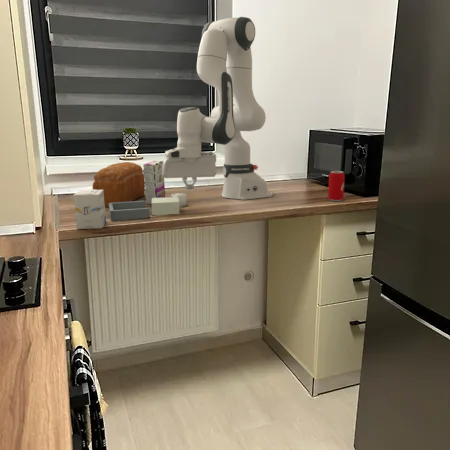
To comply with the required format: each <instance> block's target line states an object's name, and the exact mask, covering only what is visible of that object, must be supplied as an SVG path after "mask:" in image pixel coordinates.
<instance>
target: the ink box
mask: <svg viewBox="0 0 450 450" xmlns="http://www.w3.org/2000/svg"><path fill="white" fill-rule="evenodd" d="M72 196H73V203H74V211H75V212H74V213H75V223H76V229H77V230H85V229H103V228H104V227H105V224H106V222H107V217H106V207H105V204H104V193H103V190H93V189H81V190H78V191H76V192H75V193H74V194H73V195H72Z"/></svg>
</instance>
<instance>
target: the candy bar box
mask: <svg viewBox="0 0 450 450" xmlns="http://www.w3.org/2000/svg"><path fill="white" fill-rule="evenodd" d="M163 161H164V160H152V161H149V162H146V163H144V164H143V175H144V181H145V202H146V205H152V198H166V188H165V187H166V186H165V177H163V175H162V166H163Z"/></svg>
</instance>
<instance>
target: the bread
mask: <svg viewBox="0 0 450 450" xmlns="http://www.w3.org/2000/svg"><path fill="white" fill-rule="evenodd" d="M93 180H94V181H93V183H92V190H103V193H104V204H105V208H109V203H116V202H131V201H136V200H137V199H140V198H141V197H143V196H144V195H146V193H145V180H144V172H143V168H142V166H141V165H139V164H137V163H135V162H131V161H124V162H118V163H117V162H116V163H112V164H110V165H108V166H106V167H103V168H101V169H100V170H97V172H96V173H95V174H94V176H93Z"/></svg>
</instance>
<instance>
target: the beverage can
mask: <svg viewBox="0 0 450 450" xmlns="http://www.w3.org/2000/svg"><path fill="white" fill-rule="evenodd" d="M328 175H329V176H328V192H327V199H328V200H329V201H331V202H341V201H342V200H344V194H345V180H346V179H345V178H346V177H345V172H344V171H342V170H332V171H330V173H329V174H328Z"/></svg>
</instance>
